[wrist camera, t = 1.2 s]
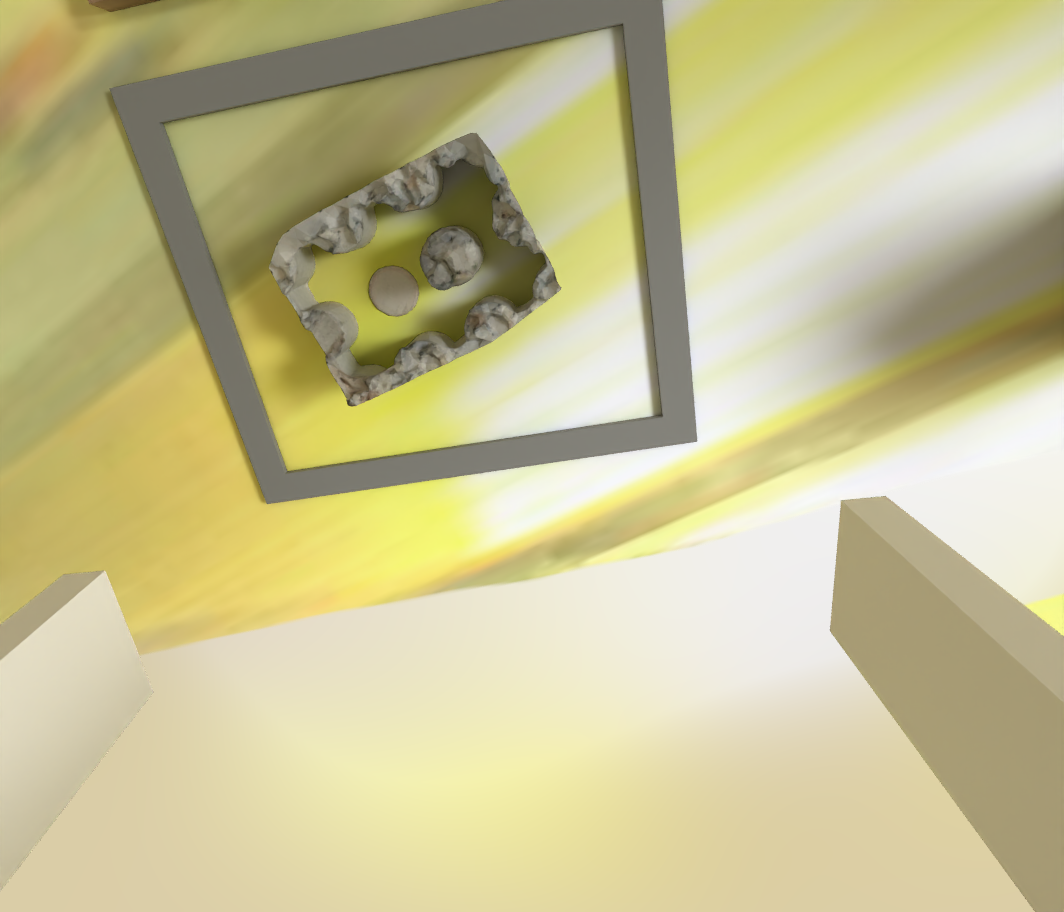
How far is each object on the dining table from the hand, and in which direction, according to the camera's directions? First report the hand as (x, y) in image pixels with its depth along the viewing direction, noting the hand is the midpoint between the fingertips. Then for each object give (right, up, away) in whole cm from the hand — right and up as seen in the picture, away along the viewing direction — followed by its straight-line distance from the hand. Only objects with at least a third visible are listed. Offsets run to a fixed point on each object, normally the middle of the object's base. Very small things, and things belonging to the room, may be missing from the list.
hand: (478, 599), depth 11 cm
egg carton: (-4, +11, +17) cm, 21 cm away
